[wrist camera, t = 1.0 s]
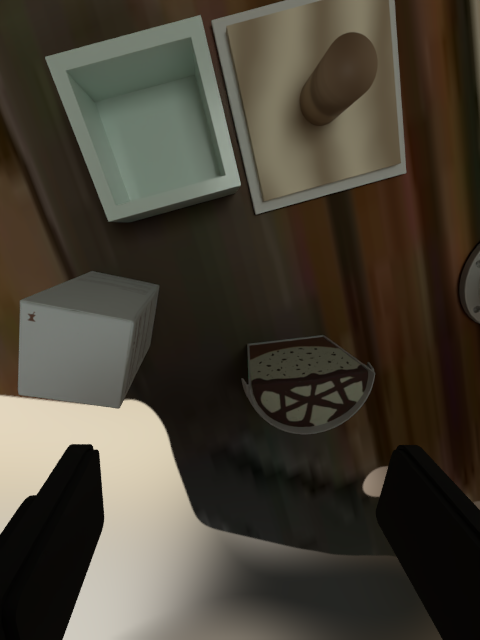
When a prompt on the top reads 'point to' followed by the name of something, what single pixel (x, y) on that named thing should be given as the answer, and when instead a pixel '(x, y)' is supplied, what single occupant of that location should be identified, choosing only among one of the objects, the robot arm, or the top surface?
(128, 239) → the top surface
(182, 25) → the open square bin
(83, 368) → the supplement box
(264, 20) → the lid
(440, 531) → the robot arm
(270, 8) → the mat
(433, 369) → the top surface
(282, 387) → the grey half-round piece
